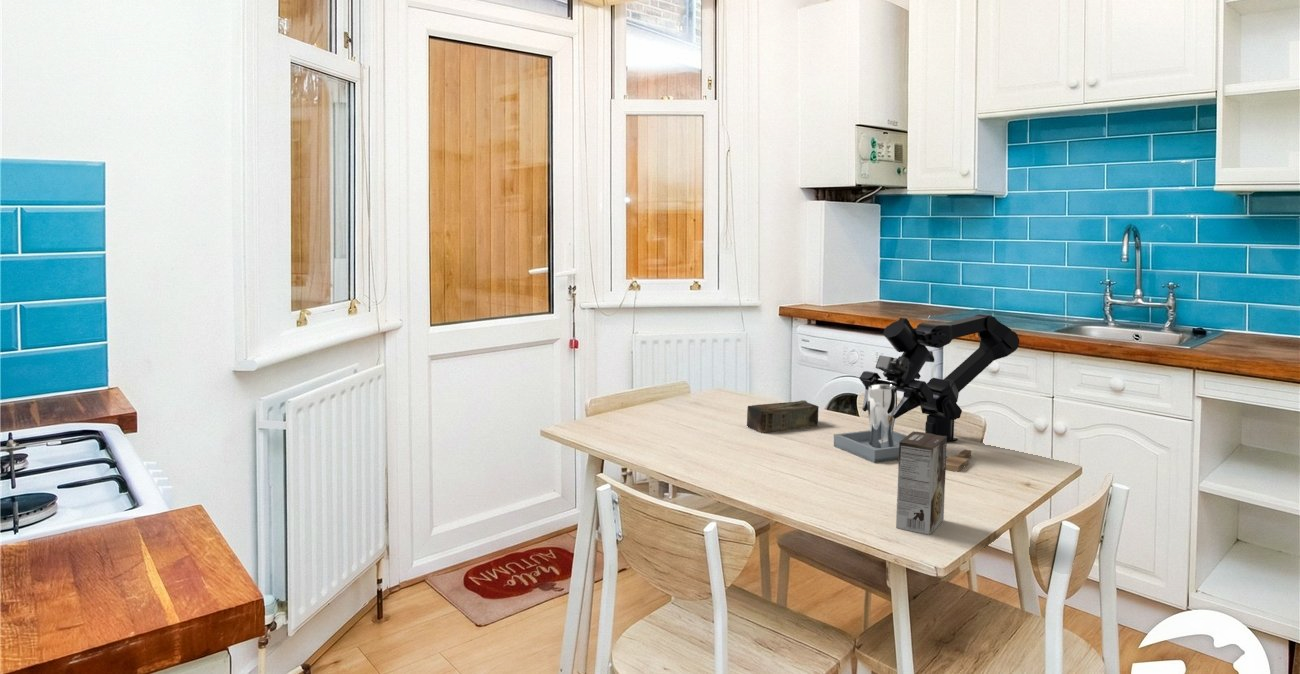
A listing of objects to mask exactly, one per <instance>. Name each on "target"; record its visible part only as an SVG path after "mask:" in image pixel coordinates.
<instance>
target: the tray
mask: <svg viewBox="0 0 1300 674" xmlns="http://www.w3.org/2000/svg"><path fill="white" fill-rule="evenodd" d="M907 436H908V435H907V434H904V433H901V432H899V431H895V430H893V441H894V447H887V448H879V449H875V448H872V447H870V446H868V444H869V439H870V429H869V430H862V431H861V430H859V431H852V432H851V431H849V432H843V433H833V447H835V448H837V449H839V450H842V451H844V452H846V453H849V454H851V455H854V456H857V457H860V458H862V459H864V460H866V461H868V462H871V463H873V464H877V463H885V462H890V461H891V462H892V461H899V442H900V441H901V440H903V439H904V438H905V437H907Z"/></svg>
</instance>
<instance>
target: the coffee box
mask: <svg viewBox="0 0 1300 674" xmlns="http://www.w3.org/2000/svg"><path fill="white" fill-rule="evenodd" d="M947 444H948V442H947V436H940V435H935V434H930V433H925V432H921V431H914V430H913V431H912V432H910V433H909V434H908V435H907V437H905V438H904V439H903V440H901V441H900V442H899V460H898V467H897V469H898V470H897V471H898V473H897V489H896V490H897V492H896V493H897V495H896V496H897V497H896V519H895V521H896V522H895V528H896V529H900V530H904V531H910V532H915V533H919V534H923V535H929V536H930V535H932V534H933V533H934V531H935V530H936V529H937V528H938V527H939V526H940V525H941V523H942V522H943V520H944V518H945V515H944V513H945V493H946V473H947V472H946V471H947V470H946V459H947Z"/></svg>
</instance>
